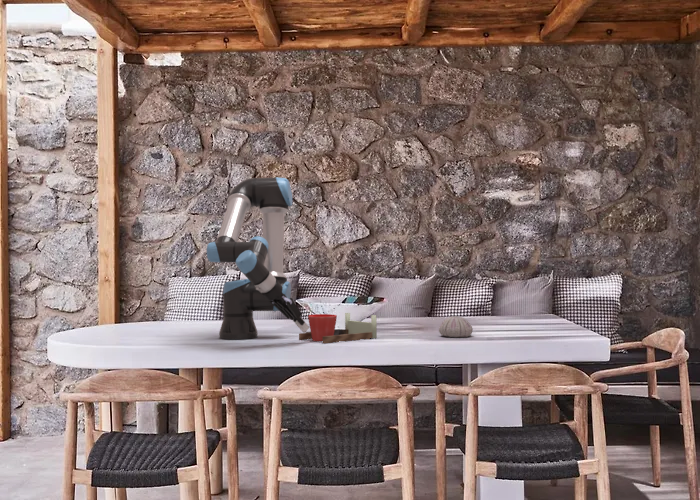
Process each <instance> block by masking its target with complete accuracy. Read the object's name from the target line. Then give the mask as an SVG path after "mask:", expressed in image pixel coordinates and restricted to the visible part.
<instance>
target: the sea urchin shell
mask: <svg viewBox="0 0 700 500" xmlns="http://www.w3.org/2000/svg"><path fill="white" fill-rule="evenodd" d="M473 329H474V328H473V326H472V324H471V323H470V322H469V321H468V320H467V319H466V318H465V317H463V316H458V315H457V316H455V315H453V316H449V317H447V318H445V319H444V320H443V321H441V323H440V325H439V327H438V333H439V334H440V335H441V336H443V337H447V338H454V339H455V338H456V339H457V338H467V337H470V336H471V335H472V334H473Z"/></svg>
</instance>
